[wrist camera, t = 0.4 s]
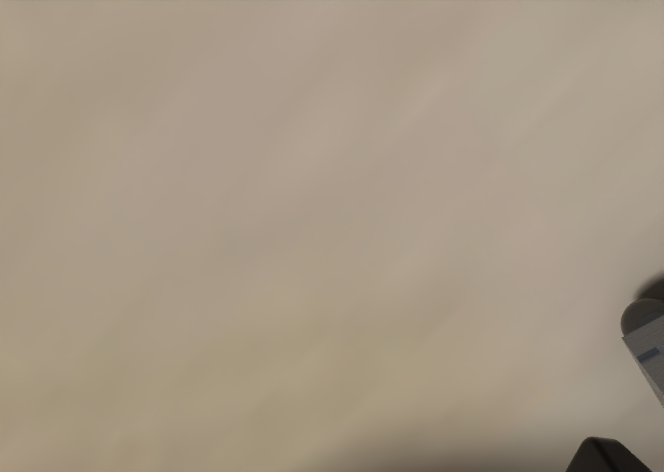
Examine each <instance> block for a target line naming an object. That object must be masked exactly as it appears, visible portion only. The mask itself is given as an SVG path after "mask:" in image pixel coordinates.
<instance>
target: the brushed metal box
mask: <svg viewBox="0 0 664 472" xmlns="http://www.w3.org/2000/svg"><path fill="white" fill-rule="evenodd" d="M621 330H622V333H623V335H624V337H622V339H623V341H624V343H625V344H626V346H627V348H628V349H629V351H630V353H631V354H632V356H633V358H634V359H635V361H636V363H637V364H638V366H639V368H640V370H641V371H642V373H643V375H644V376H645V378H646V380H647V381H648V383H649V385H650V386H651V388H652V390H653V391H654V393H655V395H656V396H657V398H658V400H659V401H660V403H661V405H662V406H663V408H664V301H663V300H660V299H656V298H643V299H639V300H637V301H635V302H633V303H632V304H630V305H629V306H628V307H627V308H626V309H625V311H624V313H623V315H622V318H621Z"/></svg>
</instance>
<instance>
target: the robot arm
mask: <svg viewBox="0 0 664 472" xmlns="http://www.w3.org/2000/svg"><path fill="white" fill-rule="evenodd" d="M566 472H652V471H651V470H650V469H649V468H648V467H647V466H645V465H644V464H643V463H642V462H641V461H640V460H639V459H638V458H637V457H636V456H635V455H634V454H632V453H631V452H630V451H629V450H628V449H627V448H626V447H625V446H624V445H623V444H621V443H620V442H618V441H617V440H614V439H607V438H599V437H588V438H586V439H585V440H584V441H583V442H582V444H581V445H580V447H579V449H578V451H577V452H576V454H575V456H574V458H573V459H572V461H571V463H570V465H569V466H568V468H567V470H566Z"/></svg>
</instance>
